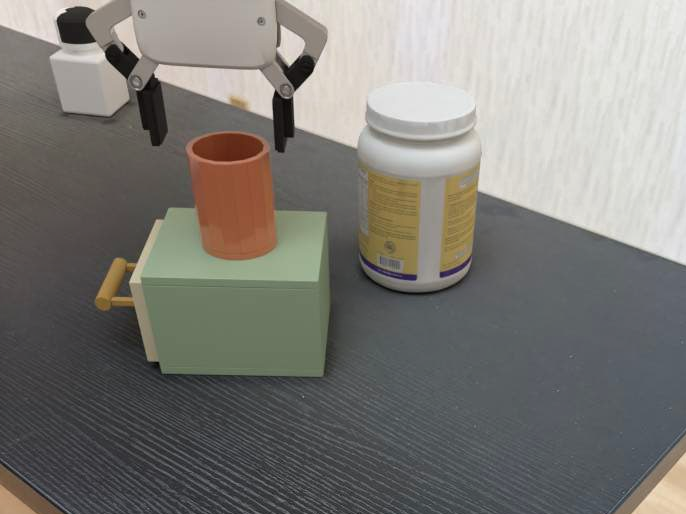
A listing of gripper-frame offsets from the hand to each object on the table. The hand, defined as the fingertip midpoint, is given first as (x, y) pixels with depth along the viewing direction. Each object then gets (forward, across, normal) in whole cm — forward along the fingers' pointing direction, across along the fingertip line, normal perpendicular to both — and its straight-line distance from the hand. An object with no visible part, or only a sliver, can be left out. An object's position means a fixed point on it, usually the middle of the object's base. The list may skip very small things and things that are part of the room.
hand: (221, 142), depth 64 cm
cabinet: (+18, -1, 0) cm, 18 cm away
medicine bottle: (+19, +28, -58) cm, 67 cm away
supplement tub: (+18, -17, -14) cm, 28 cm away
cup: (+8, -1, 0) cm, 8 cm away
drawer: (+17, +3, 0) cm, 17 cm away
